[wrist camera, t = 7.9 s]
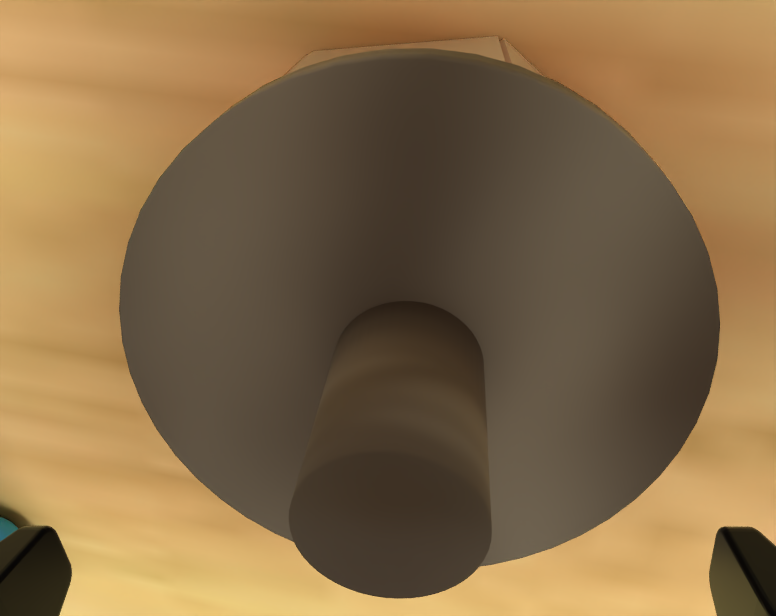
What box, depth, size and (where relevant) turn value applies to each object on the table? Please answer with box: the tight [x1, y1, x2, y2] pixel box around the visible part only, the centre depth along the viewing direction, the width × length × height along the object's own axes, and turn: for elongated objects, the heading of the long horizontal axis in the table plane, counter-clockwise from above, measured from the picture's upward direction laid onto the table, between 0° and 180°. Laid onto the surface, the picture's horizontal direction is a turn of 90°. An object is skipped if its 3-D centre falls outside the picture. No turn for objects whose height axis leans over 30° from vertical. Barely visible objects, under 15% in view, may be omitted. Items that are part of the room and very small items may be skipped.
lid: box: [119, 48, 720, 598], centre depth 12 cm, size 11×11×5 cm
